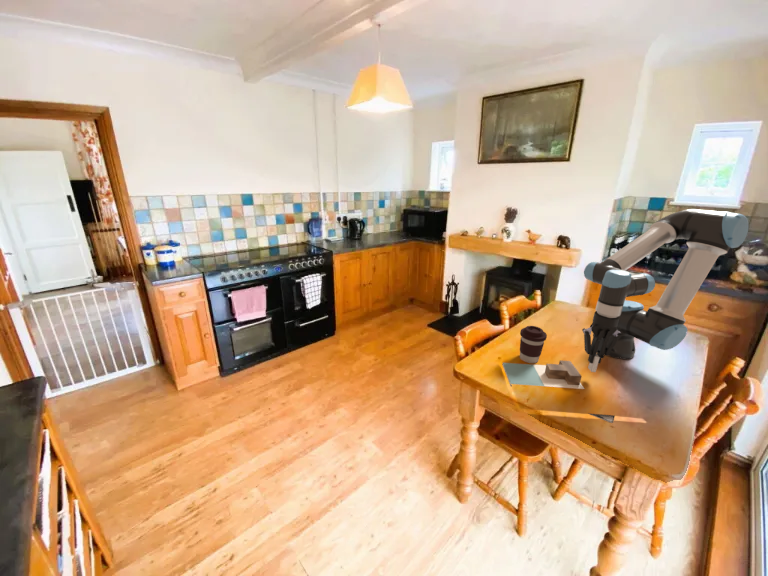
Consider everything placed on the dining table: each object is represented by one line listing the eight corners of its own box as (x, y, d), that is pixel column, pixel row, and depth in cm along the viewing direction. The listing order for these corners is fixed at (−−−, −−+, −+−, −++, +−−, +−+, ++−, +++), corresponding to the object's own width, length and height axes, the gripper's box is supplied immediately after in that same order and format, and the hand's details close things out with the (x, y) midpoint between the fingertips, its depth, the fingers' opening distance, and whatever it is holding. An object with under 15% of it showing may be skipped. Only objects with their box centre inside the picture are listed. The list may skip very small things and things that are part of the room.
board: (568, 369, 131) (569, 366, 131) (584, 391, 118) (584, 388, 118) (502, 365, 134) (502, 362, 134) (510, 386, 121) (511, 383, 121)
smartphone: (618, 398, 114) (613, 422, 104) (618, 400, 115) (612, 424, 104) (594, 390, 119) (586, 412, 108) (593, 391, 119) (586, 414, 108)
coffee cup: (544, 368, 132) (550, 336, 127) (518, 365, 134) (523, 334, 128) (538, 355, 141) (544, 324, 136) (514, 353, 143) (519, 322, 138)
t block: (568, 369, 129) (570, 361, 128) (579, 385, 120) (581, 376, 118) (542, 367, 130) (543, 359, 129) (551, 383, 121) (553, 374, 120)
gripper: (621, 310, 117) (604, 365, 125) (583, 308, 118) (569, 363, 127) (633, 319, 110) (615, 377, 118) (592, 316, 111) (577, 374, 120)
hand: (591, 369), depth 122 cm, fingers closed
